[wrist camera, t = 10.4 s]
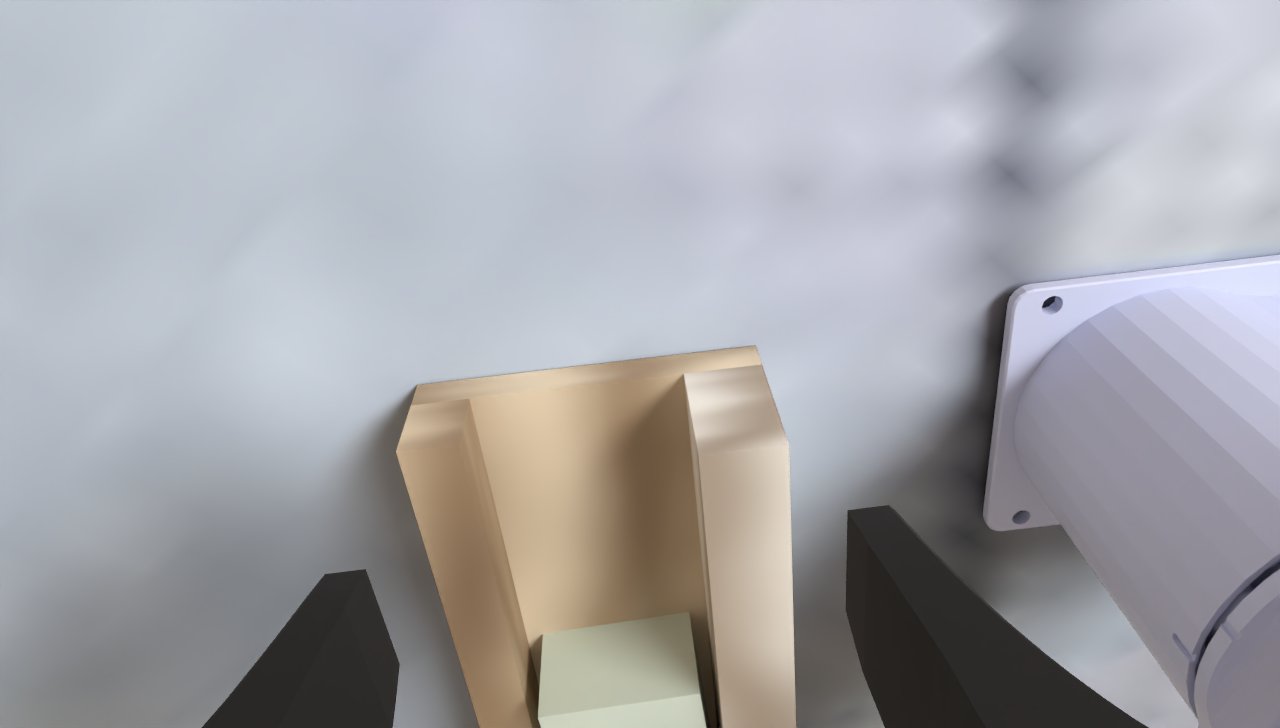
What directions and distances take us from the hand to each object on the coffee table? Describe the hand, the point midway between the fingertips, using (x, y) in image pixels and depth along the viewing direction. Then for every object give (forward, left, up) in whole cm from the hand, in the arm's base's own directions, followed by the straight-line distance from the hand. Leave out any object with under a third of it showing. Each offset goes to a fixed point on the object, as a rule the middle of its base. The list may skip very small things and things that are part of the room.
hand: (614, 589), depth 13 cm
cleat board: (+1, +12, -10) cm, 16 cm away
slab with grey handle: (+1, +15, -9) cm, 17 cm away
